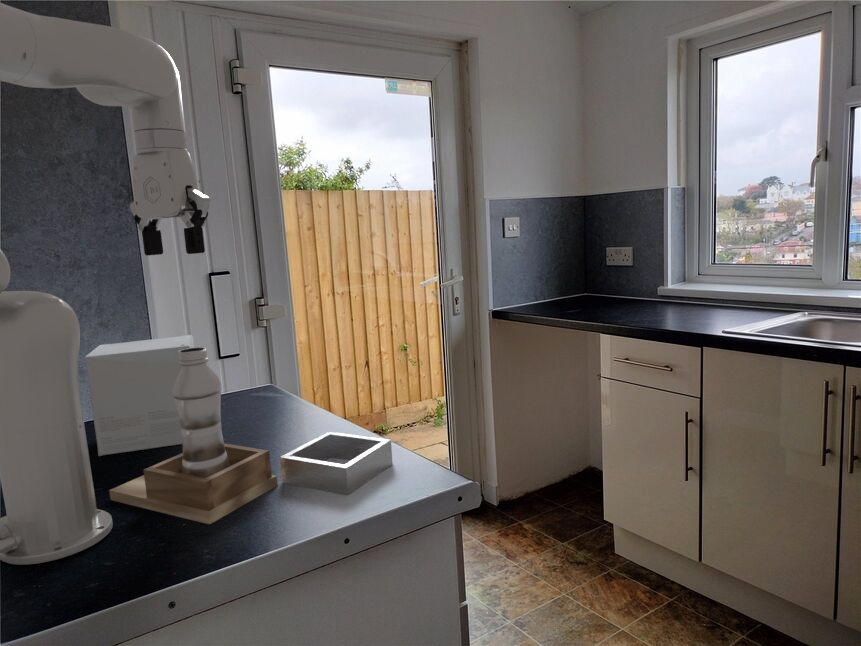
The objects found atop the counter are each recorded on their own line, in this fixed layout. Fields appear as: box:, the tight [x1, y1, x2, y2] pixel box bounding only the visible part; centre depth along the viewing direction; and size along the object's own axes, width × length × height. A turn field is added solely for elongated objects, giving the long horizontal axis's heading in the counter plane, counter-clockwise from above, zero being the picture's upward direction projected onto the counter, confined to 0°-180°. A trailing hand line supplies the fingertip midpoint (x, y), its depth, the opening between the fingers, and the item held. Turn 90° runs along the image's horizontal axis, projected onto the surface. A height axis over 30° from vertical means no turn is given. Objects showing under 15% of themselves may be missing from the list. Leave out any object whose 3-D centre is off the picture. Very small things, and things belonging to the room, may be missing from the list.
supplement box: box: [84, 334, 195, 457], centre depth 116 cm, size 17×13×18 cm
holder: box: [279, 431, 394, 496], centre depth 95 cm, size 12×12×4 cm
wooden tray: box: [108, 442, 278, 525], centre depth 91 cm, size 13×20×6 cm, turn 62°
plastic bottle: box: [172, 346, 230, 478], centre depth 88 cm, size 6×7×20 cm
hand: (174, 254), depth 101 cm, fingers open, 9 cm apart
